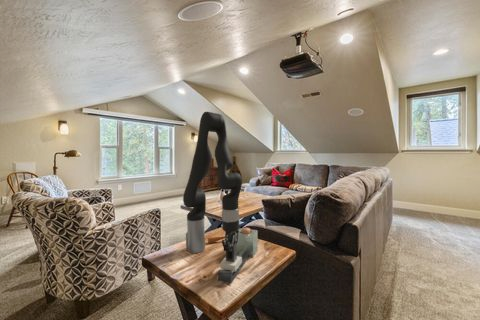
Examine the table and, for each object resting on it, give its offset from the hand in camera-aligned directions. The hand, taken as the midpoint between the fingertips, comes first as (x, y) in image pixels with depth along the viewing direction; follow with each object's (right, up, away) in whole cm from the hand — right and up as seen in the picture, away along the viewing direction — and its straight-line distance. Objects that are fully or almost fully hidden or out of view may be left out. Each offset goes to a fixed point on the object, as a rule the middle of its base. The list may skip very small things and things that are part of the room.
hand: (231, 256), depth 96 cm
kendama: (-5, -6, +34) cm, 35 cm away
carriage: (0, -5, 0) cm, 5 cm away
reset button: (+7, +2, +19) cm, 20 cm away
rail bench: (+3, -7, +8) cm, 11 cm away
